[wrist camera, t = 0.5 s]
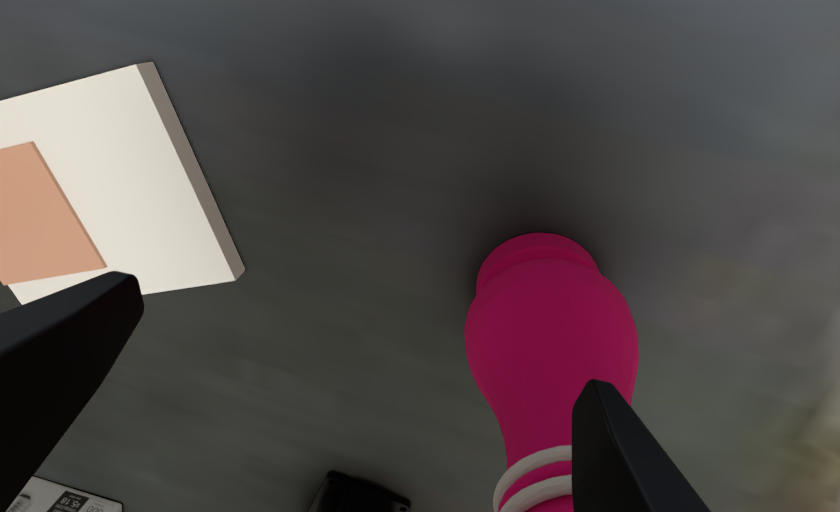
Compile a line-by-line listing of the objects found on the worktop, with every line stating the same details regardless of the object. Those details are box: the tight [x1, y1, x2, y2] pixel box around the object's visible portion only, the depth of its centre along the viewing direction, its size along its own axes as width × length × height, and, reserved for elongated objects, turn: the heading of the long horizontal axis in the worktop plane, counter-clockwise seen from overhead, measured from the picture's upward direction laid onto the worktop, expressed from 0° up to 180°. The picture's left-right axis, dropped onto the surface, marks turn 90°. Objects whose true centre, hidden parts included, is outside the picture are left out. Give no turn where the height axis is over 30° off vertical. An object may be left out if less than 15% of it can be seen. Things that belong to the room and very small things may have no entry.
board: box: [0, 62, 245, 305], centre depth 24 cm, size 14×11×1 cm
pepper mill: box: [465, 233, 639, 512], centre depth 16 cm, size 7×7×20 cm
